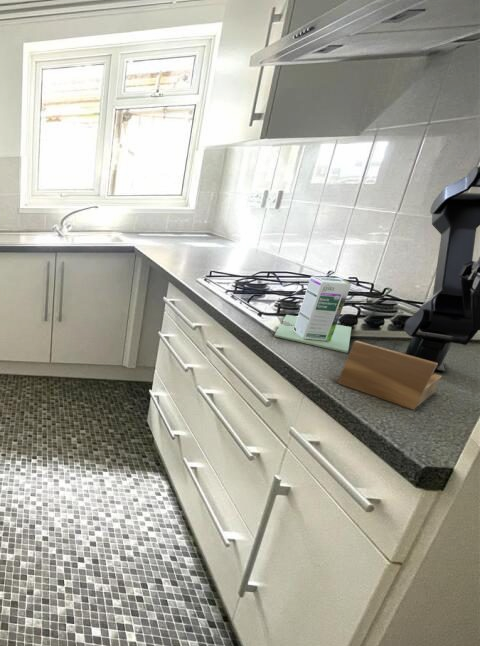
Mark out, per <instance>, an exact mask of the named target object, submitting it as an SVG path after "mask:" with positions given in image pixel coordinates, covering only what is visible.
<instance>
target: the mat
mask: <svg viewBox="0 0 480 646" xmlns="http://www.w3.org/2000/svg"><path fill="white" fill-rule="evenodd" d="M297 318H298V315H291V314H286V315H285V316H284V318H283V320H282V321H284V322H285V321H286V322H289V323H290V324H292V325H294V326H285V325H283V324H281V323H280V325H279V327H278V328H277V330H276V331H275V333H274V336H273V337H276V338H279V339H283V340H287V341H292V342H297V343H301V344H306V345H311V346H313V347H314V346H315V347H319V348H323V349H327V350H332V351H337V352H342V353H344V354H345V353H346V354H348V353H349V348H350V341H351V335H352V326H349V325H347V326H346V325H343V324H337V325H336V327H335V330H334V333H333V335H332V338H331V341H320V340H311V339H303V338H301V337H300V336H299V335H297V334H296V333H295V332H294V327H295V324H296V321H297Z"/></svg>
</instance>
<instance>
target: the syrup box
mask: <svg viewBox="0 0 480 646" xmlns="http://www.w3.org/2000/svg"><path fill="white" fill-rule="evenodd" d="M351 287H352V283H351V282H350V281H348V280H347V279H344V278H340V277H328V276H327V277H326V276H314V275H313V276H310V278H309V281H308V284H307V287H306V290H305V294H304V296H303V300H302V303H301V306H300V308H299V312H298V315H297V317H298V318H297V321H296V324H295V328H296V331H295V330H294V332H295V333H296V334H297V335H299V336H300V337H301V338H303V339H311V340H320V341H331V338H332V335H333V333H334V330H335V327H336V325H338V322H339V319H340V316H341V315H342V311H343V308H344V306H345V303H346V300H347V298H348V295H349V292H350V289H351Z"/></svg>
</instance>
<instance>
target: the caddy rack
mask: <svg viewBox="0 0 480 646" xmlns="http://www.w3.org/2000/svg"><path fill="white" fill-rule="evenodd" d="M403 353H404V352H402V353H401V352H399V351H395V350H392V349H390V348H389V349H388V348H385V347H381V346H378V345H374V344H371V343H367V342H363V341H360V340H355V341H354V342H353V344H352V347H351V349H350V351H349V355H348V356H347V359H346V361H345V364H344V367H343V369H342V371H341V373H340V375H339V377H338V378H339V379H338V381H337V384H339V385H342V386H344V387H347V388H350V389H353V390H355V391H359V392H361V393H365V394H367V395H370V396H372V397H376V398H378V399H381V400H384V401H386V402H390V403H393V404H395V405H398V406H401V407H404V408H407V409H409V410H411V411H412V410H413V411H414V410H415V409H416V408H417V407H419V406H420V405H421V404H423V403H424V402H425V401H426V400H427V399H429V398H430V397H432V395H433V394H434V392H435V390H436V388H437V386H438V385H439V382H440V381H441V378H442V375H441V374H438V373H435V371H434V370H435V368H436V366H437V365H438V363H435V362H432V361H428V360H425V359H421V358H417V357H414V356H410V355H407V354H403Z"/></svg>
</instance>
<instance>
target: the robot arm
mask: <svg viewBox="0 0 480 646" xmlns="http://www.w3.org/2000/svg"><path fill="white" fill-rule="evenodd" d="M471 188H480V165H479V166H474V167H473V168H472V169H471V170H470V171H469V172H468V173H467V174H466V176H464V177H462V178H460V179H458V180H456V181H454V182H452V183H450V184H448V185H446V186H444V188H443V189H441V190H442V191H440V193H438V195H437V197H436V198H435V199H434V200H433V202H432V204H431V207H430V210H429V212H430V214H431V225H432V226H433V227H434V228H435V230H436V231H437V232H438V233H439V234H440V241H439V247H438V256H437V263H436V269H435V277H434V285H433V291H432V295H431V297H429V298H428V299H427V300H426V301H425V302H424V303H423V304H421V305H420V306H419V309H418V310H417V311H416V312H415V313H413V314H412V315H411V316H410V317H409V318H407V319H406V321H405V322H404V327H403V331H404V332H405V333H406V334H407V335H408V336H409V337H411V340H410V342H409V344H408V346H407V348H406V349H405V352H400V353H403V354H407V355H410V356H414V357H417V358H421V359H425V360H428V361H432V362H435V363H438V365H437V366H436V368H435V370H434V372H439V373H444V372H446V369H445V366H444V363H443V362H444V360H445V358H446V356H447V355H448V353H449V351H450V348H451V346H452V345H453V344H459V345H463V346H467V345H468V344H469V343H470V341H472V339H473V338H474V337H475V336H476V334H477V333H478V332H479V331H480V256H479V257H478V259H477V260H473V259H474V252H475V242H476V236H477V229H478V228H479V227H480V192H468V191H469V190H471Z"/></svg>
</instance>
